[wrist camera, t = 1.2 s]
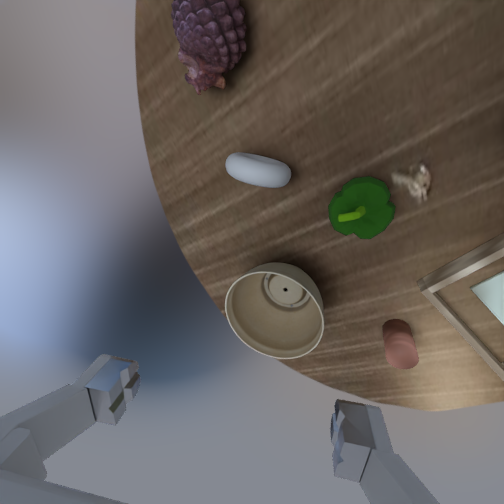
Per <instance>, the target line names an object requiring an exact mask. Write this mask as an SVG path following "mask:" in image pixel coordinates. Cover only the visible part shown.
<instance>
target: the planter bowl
mask: <svg viewBox="0 0 504 504" xmlns="http://www.w3.org/2000/svg"><path fill="white" fill-rule="evenodd" d="M284 288H287V289H288V290H287V291H284ZM225 311H226V316H227V319H228V321H229V324H230V326H231V328H232V329H233V331H234V332H235V334H236V335H237V336H238V337H239V338H240V339H241V340H242V341H243V342H244V343H245V344H246V345H247V346H249V347H250V348H252V349H253V350H255V351H257V352H259V353H261V354H263V355H266V356H270V357H273V358H280V359H292V358H297V357H301V356H303V355H305V354H307V353H309V352H310V351H312V350H313V349H314V348H315V347H316V346H317V345H318V343H319V342H320V340H321V337H322V334H323V330H324V308H323V302H322V298H321V295H320V292H319V290H318V288H317V286H316V284H315V283H314V281H313V280H312V279H311V278H310V277H309V276H308V275H307V274H306V273H305V272H304V271H303V270H301V269H300V268H298V267H296V266H294V265H291V264H287V263H280V262H273V263H266V264H262V265H259V266H257V267H255V268H253V269H251V270H250V271H248V272H247V273H245V274H244V275H243V276H241V277H240V278H238V279H237V280H236V281H235V282H234V283H233V284H232V286H231V287H230V289H229V291H228V293H227V296H226V300H225Z"/></svg>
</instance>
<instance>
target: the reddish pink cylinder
mask: <svg viewBox="0 0 504 504" xmlns="http://www.w3.org/2000/svg"><path fill="white" fill-rule="evenodd" d="M383 337H384V344H385V352H386V358H387V361H388V362H389V363H390V364H391V365H392V366H394V367H396V368H399V369H410V368H413V367H414V366H416V365H417V363H418V361H419V357H418V354H417V350H416V347H415V343H414V339H413V336H412V332H411V329H410V326H409V325H408V324H407V323H406V322H404V321H402V320H399V319H392V320H389V321H387V322H386V323H385V324H384V325H383Z"/></svg>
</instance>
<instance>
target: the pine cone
mask: <svg viewBox="0 0 504 504" xmlns="http://www.w3.org/2000/svg"><path fill="white" fill-rule="evenodd" d="M239 3H240V0H174V1H173V3H172V9H173V10H172V13H171V17H172V19H173V27H174V29H175V35H176V36H177V38H178V41H179V43H180V49H179V53H178V57H179V60H180V61H181V63H183V64H184V65H185V66H187V68H188V71H189V72H188V73H187V74H185V79H186V81H187V82H188V83H189V84H192V85H193V86H194V88H195V89H196V91H197V94H198V95H201V90H202V89H203V90H204V91H206V90H207V89H208V88H211V87H212V86H216V87H219V88H221V89H224V88H225V87H226V80H225V79H224V77H223V76H222V73H227V72H228V71H229V69H230V70H231V69H233V68H234V66H235V63H238V62H239V60H240V58H241V52H244V51H246V43H245V41H244V40H243V38H244V37H245V32H246V30H247V29H246V25H245V24H244V23H243V19H244V15H245V11H244V9H243V8H242V7H241V6H239Z"/></svg>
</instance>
